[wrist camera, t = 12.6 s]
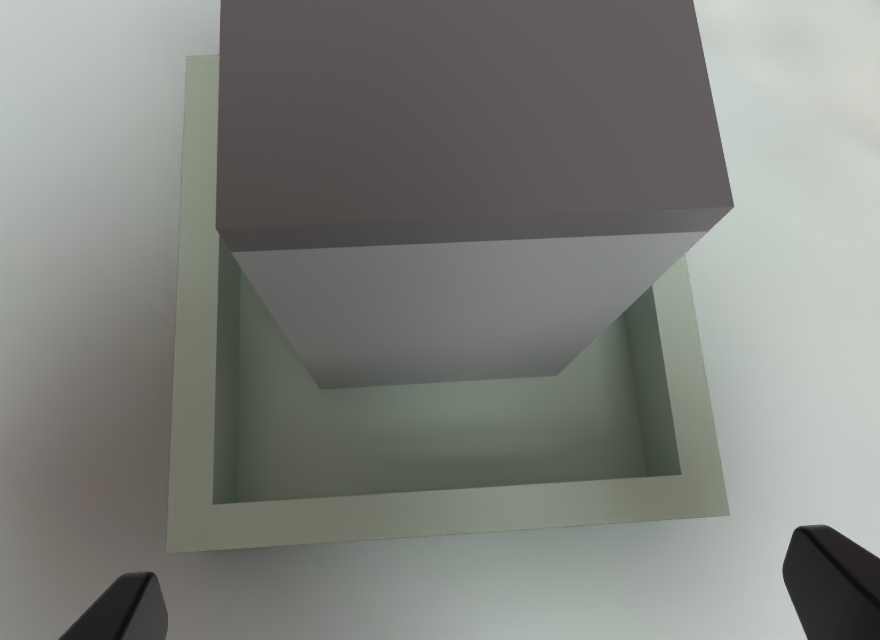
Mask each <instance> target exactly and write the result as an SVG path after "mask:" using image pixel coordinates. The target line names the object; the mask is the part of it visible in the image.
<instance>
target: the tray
mask: <svg viewBox="0 0 880 640" xmlns="http://www.w3.org/2000/svg"><path fill="white" fill-rule="evenodd" d="M218 98H219V55H217V56H187V63H186V87H185V110H184V134H183V158H182V181H181V205H180V228H179V252H178V276H177V299H176V323H175V346H174V370H173V394H172V417H171V441H170V464H169V488H168V512H167V535H166V554H170V553H185V552H200V551H214V550H229V549H244V548H259V547H273V546H288V545H303V544H318V543H332V542H347V541H362V540H377V539H391V538H406V537H421V536H436V535H450V534H465V533H480V532H495V531H509V530H524V529H539V528H554V527H568V526H583V525H598V524H613V523H627V522H642V521H657V520H672V519H686V518H701V517H716V516H730V514H729V508H728V502H727V496H726V490H725V485H724V479H723V473H722V467H721V461H720V455H719V450H718V444H717V438H716V432H715V426H714V420H713V415H712V409H711V403H710V397H709V391H708V385H707V380H706V374H705V368H704V362H703V356H702V350H701V345H700V339H699V333H698V327H697V321H696V315H695V310H694V304H693V298H692V292H691V286H690V280H689V275H688V269H687V263H686V257H685V254H684V255H683V256H682V257H681V258H680V259H679V260H678V261H677V262H676V263H675V264H674V265H672V266H671V267H670V268H669V269H668V270H667V271H666V272H665V273H664V274H663V275H662V276H661V277H660V278H659V279H658V280H657V281H656V282H655V283H654V284H653V285H651V286H650V287H649V288H648V289H647V290H646V291H645V292H644V293H643V294H642V295H641V296H640V297H639V298H638V299H637V300H636V301H635V302H634V303H633V304H632V305H630V306H629V307H628V308H627V309H626V310H625V311H624V312H623V313H622V314H621V315H620V316H619V317H618V318H617V319H616V320H615V321H614V322H613V323H612V324H611V325H609V326H608V327H607V328H606V329H605V330H604V331H603V332H602V333H601V334H600V335H599V336H598V337H597V338H596V339H595V340H594V341H593V342H592V343H591V344H590V345H588V346H587V347H586V348H585V349H584V350H583V351H582V352H581V353H580V354H579V355H578V356H577V357H576V358H575V359H574V360H573V361H572V362H571V363H570V364H569V365H567V366H566V367H565V368H564V369H563V370H562V371H561V372H560V373H559V374H558V375H557V376H548V377H530V378H513V379H495V380H477V381H460V382H442V383H425V384H407V385H389V386H372V387H354V388H337V389H320V388H319V387H318V385H317V384H316V382H315V381H314V379H313V378H312V376H311V374H310V373H309V371H308V370H307V368H306V367H305V365H304V364H303V362H302V361H301V359H300V358H299V356H298V355H297V353H296V351H295V350H294V348H293V347H292V345H291V344H290V342H289V341H288V339H287V338H286V336H285V335H284V333H283V331H282V330H281V328H280V327H279V325H278V324H277V322H276V321H275V319H274V318H273V316H272V315H271V313H270V311H269V310H268V308H267V307H266V305H265V304H264V302H263V301H262V299H261V298H260V296H259V295H258V293H257V291H256V290H255V288H254V287H253V285H252V284H251V282H250V281H249V279H248V278H247V276H246V275H245V273H244V271H243V270H242V268H241V267H240V265H239V264H238V262H237V261H236V259H235V258H234V256H233V255H232V253H231V252H230V250H229V248H228V247H227V245H226V244H225V242H224V241H223V239H222V238H221V236H220V235H219V233H218V232H217V230H216V228H215V225H216V183H217V140H218Z"/></svg>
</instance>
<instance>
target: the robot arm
mask: <svg viewBox="0 0 880 640" xmlns="http://www.w3.org/2000/svg"><path fill="white" fill-rule="evenodd" d="M782 572H783V579H784V582H785V585H786V588H787V590H788V593H789V595H790V598H791V600H792V602H793V605H794V607H795V610H796V612H797V615H798V617H799V620H800V622H801V624H802V627H803V629H804V632H805V634H806V637H807V639H808V640H880V558H878V557H877V556H875V555H873V554H872V553H870V552H869V551H867V550H866V549H864V548H863V547H861V546H859V545H858V544H856V543H855V542H853V541H852V540H850V539H849V538H847V537H845V536H844V535H842V534H841V533H839V532H838V531H836V530H835V529H833V528H831V527H829V526H827V525H808V526H800V527H798V528H796V529H795V530H794V532H793V535H792V538H791V541H790V544H789V547H788V550H787V554H786V557H785V560H784V563H783V571H782ZM167 629H168V613H167V609H166V606H165V602H164V599H163V595H162V592H161V589H160V585H159V582H158V579H157V577H156V575H155V574H154V573H153V572H138V573H126V574H123V575H122V576H120V577H119V578H118V579H117V580H116V581H115V582H114V583H113V584H112V585H111V586H110V587H109V588H108V589H107V590H106V591H105V592H104V593H103V594H102V595H101V596H100V597H99V598H98V599H97V600H96V601H95V602H94V603H93V604H92V605H91V606H90V607H89V608H88V609H87V610H86V611H85V612H84V613H83V615H82V616H81V617H80V618H79V619H78V620H77V621H76V622H75V623H74V624H73V625H72V626H71V627H70V628H69V629H68V630H67V631H66V632H65V633H64V634H63V635H62V636H61V637H60V638H59V639H58V640H166V635H167Z"/></svg>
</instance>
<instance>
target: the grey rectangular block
mask: <svg viewBox="0 0 880 640" xmlns="http://www.w3.org/2000/svg"><path fill="white" fill-rule="evenodd" d="M733 207H734V204H733V199H732V194H731V188H730V183H729V178H728V173H727V168H726V163H725V158H724V153H723V148H722V143H721V138H720V133H719V128H718V123H717V118H716V113H715V108H714V103H713V98H712V93H711V88H710V83H709V78H708V73H707V68H706V63H705V58H704V53H703V48H702V43H701V38H700V33H699V28H698V23H697V18H696V13H695V8H694V3H693V0H221V13H220V55H219V98H218V140H217V183H216V225H215V228H216V230H217V232H218V233H219V235H220V236H221V238H222V239H223V241H224V242H225V244H226V245H227V247H228V248H229V250H230V252H231V253H232V255H233V256H234V258H235V259H236V261H237V262H238V264H239V265H240V267H241V268H242V270H243V271H244V273H245V275H246V276H247V278H248V279H249V281H250V282H251V284H252V285H253V287H254V288H255V290H256V291H257V293H258V295H259V296H260V298H261V299H262V301H263V302H264V304H265V305H266V307H267V308H268V310H269V311H270V313H271V315H272V316H273V318H274V319H275V321H276V322H277V324H278V325H279V327H280V328H281V330H282V331H283V333H284V335H285V336H286V338H287V339H288V341H289V342H290V344H291V345H292V347H293V348H294V350H295V351H296V353H297V355H298V356H299V358H300V359H301V361H302V362H303V364H304V365H305V367H306V368H307V370H308V371H309V373H310V374H311V376H312V378H313V379H314V381H315V382H316V384H317V385H318V387H319V388H320V389H337V388H354V387H372V386H389V385H407V384H425V383H442V382H460V381H477V380H495V379H513V378H530V377H548V376H557V375H558V374H559V373H560V372H561V371H562V370H563V369H564V368H565V367H566V366H567V365H569V364H570V363H571V362H572V361H573V360H574V359H575V358H576V357H577V356H578V355H579V354H580V353H581V352H582V351H583V350H584V349H585V348H586V347H587V346H588V345H590V344H591V343H592V342H593V341H594V340H595V339H596V338H597V337H598V336H599V335H600V334H601V333H602V332H603V331H604V330H605V329H606V328H607V327H608V326H609V325H611V324H612V323H613V322H614V321H615V320H616V319H617V318H618V317H619V316H620V315H621V314H622V313H623V312H624V311H625V310H626V309H627V308H628V307H629V306H630V305H632V304H633V303H634V302H635V301H636V300H637V299H638V298H639V297H640V296H641V295H642V294H643V293H644V292H645V291H646V290H647V289H648V288H649V287H650V286H651V285H653V284H654V283H655V282H656V281H657V280H658V279H659V278H660V277H661V276H662V275H663V274H664V273H665V272H666V271H667V270H668V269H669V268H670V267H671V266H672V265H674V264H675V263H676V262H677V261H678V260H679V259H680V258H681V257H682V256H683V255H684V254H685V253H686V252H687V251H688V250H689V249H690V248H691V247H692V246H693V245H695V244H696V243H697V242H698V241H699V240H700V239H701V238H702V237H703V236H704V235H705V234H706V233H707V232H708V231H709V230H710V229H711V228H712V227H713V226H714V225H716V224H717V223H718V222H719V221H720V220H721V219H722V218H723V217H724V216H725V215H726V214H727V213H728V212H729V211H730V210H731V209H732V208H733Z"/></svg>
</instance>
